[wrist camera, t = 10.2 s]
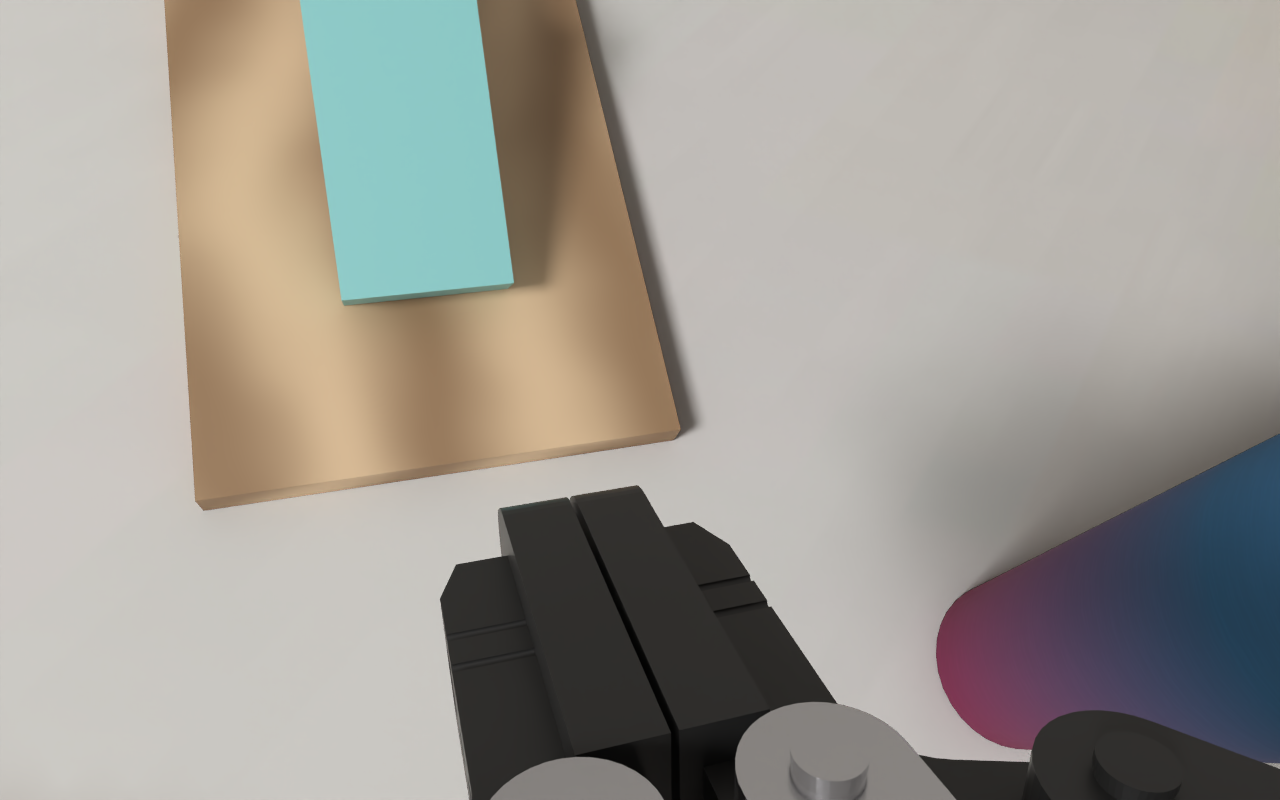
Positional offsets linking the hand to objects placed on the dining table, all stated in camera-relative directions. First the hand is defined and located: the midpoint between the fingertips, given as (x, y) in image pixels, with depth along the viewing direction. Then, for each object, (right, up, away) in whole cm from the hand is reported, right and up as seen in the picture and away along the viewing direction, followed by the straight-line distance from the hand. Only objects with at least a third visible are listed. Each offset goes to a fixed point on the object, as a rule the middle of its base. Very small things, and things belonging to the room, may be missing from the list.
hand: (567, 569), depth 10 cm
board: (-8, +11, +22) cm, 26 cm away
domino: (-6, +5, +18) cm, 20 cm away
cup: (+12, -6, +20) cm, 24 cm away
